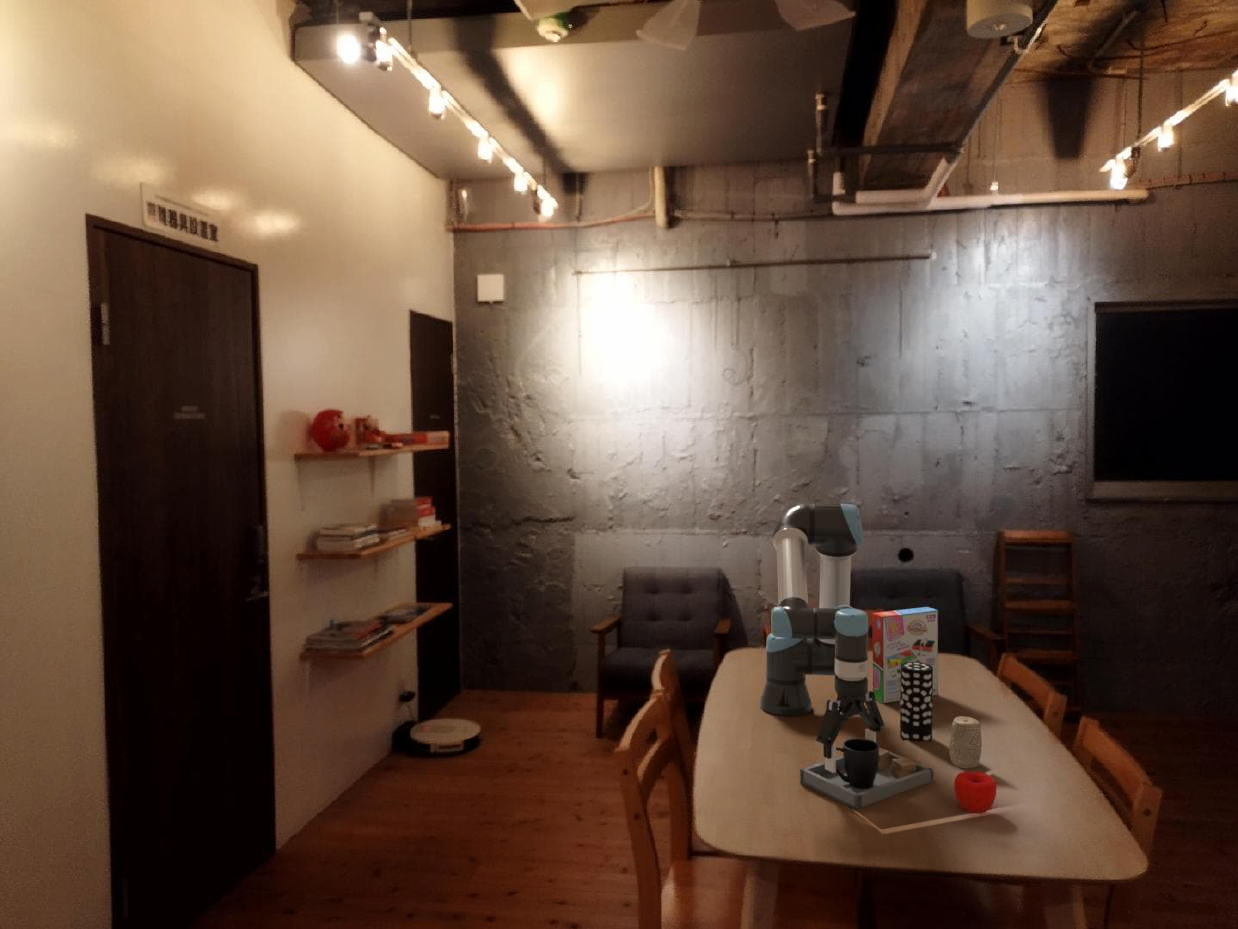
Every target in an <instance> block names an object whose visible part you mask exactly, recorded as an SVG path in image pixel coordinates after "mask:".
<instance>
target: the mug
mask: <svg viewBox="0 0 1238 929" xmlns="http://www.w3.org/2000/svg"><path fill="white" fill-rule="evenodd" d="M879 748H880V745H879V744H878V742H877V743H875V742H873V741H871V740H867V739H865V738H857V737H855V738H849V739H846V740H845V741H844V742H843V743H842V747H838V746H836V751H839V752H842V756H843V760H844V766H845V770H846V774H847V776H845V775H843V774H842V773H841V772H840V771H839V770H838V769H837V767H836V772H837V773H838V775H839V776H840V778H841V779H842V780H843V781H844V782H847V783H849V784H850V785H851V786H853V787H855V788H859V789H868V788H871V787H872V786H873V783H874V780H875V777H876V773H877V769H878V763H879Z"/></svg>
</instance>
